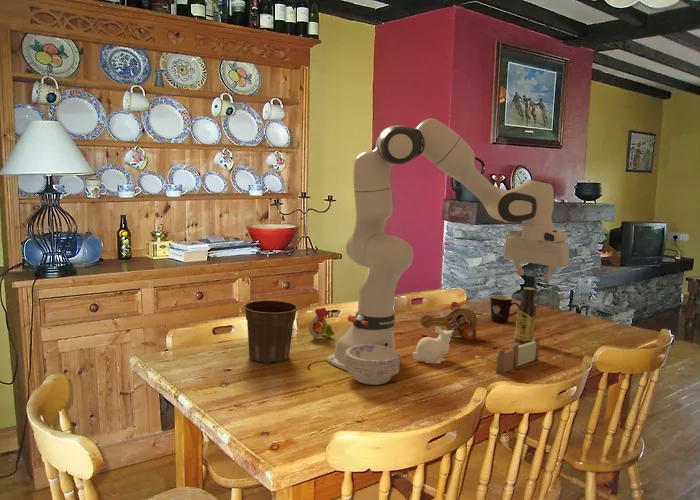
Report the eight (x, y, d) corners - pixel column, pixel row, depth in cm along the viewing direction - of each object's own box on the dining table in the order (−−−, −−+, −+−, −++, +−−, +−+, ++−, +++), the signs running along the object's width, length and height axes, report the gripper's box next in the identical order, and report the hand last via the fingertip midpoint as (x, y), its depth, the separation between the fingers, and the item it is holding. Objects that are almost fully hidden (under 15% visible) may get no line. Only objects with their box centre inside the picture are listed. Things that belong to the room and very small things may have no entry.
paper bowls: (366, 364, 169) (367, 339, 168) (409, 379, 160) (410, 352, 158) (332, 378, 157) (334, 351, 156) (376, 394, 148) (378, 366, 147)
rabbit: (444, 356, 181) (446, 320, 180) (456, 366, 172) (459, 328, 171) (408, 358, 178) (410, 321, 177) (419, 368, 169) (421, 329, 168)
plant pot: (303, 352, 180) (305, 303, 177) (284, 369, 164) (286, 314, 162) (256, 346, 184) (257, 298, 182) (233, 361, 168) (234, 309, 166)
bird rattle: (320, 347, 193) (340, 333, 198) (310, 319, 189) (330, 306, 194) (310, 342, 198) (329, 329, 202) (300, 315, 194) (320, 302, 198)
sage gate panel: (518, 367, 172) (520, 344, 171) (512, 365, 173) (514, 343, 172) (539, 359, 180) (540, 338, 179) (533, 357, 182) (535, 336, 181)
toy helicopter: (479, 340, 201) (481, 302, 199) (422, 340, 198) (424, 302, 197) (471, 334, 209) (473, 297, 207) (416, 333, 206) (418, 297, 205)
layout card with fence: (508, 379, 163) (510, 354, 162) (457, 362, 176) (459, 339, 175) (548, 363, 178) (550, 341, 177) (498, 349, 191) (500, 328, 190)
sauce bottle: (510, 341, 202) (514, 286, 199) (524, 339, 204) (529, 285, 202) (522, 346, 196) (526, 290, 193) (536, 345, 198) (541, 289, 196)
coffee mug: (484, 319, 232) (485, 295, 230) (500, 318, 235) (502, 294, 234) (502, 326, 221) (504, 301, 220) (520, 325, 225) (522, 300, 224)
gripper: (500, 230, 178) (498, 273, 181) (562, 237, 164) (559, 284, 166) (511, 229, 183) (509, 271, 185) (573, 235, 168) (569, 281, 170)
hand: (533, 277), depth 175 cm, fingers open, 8 cm apart
